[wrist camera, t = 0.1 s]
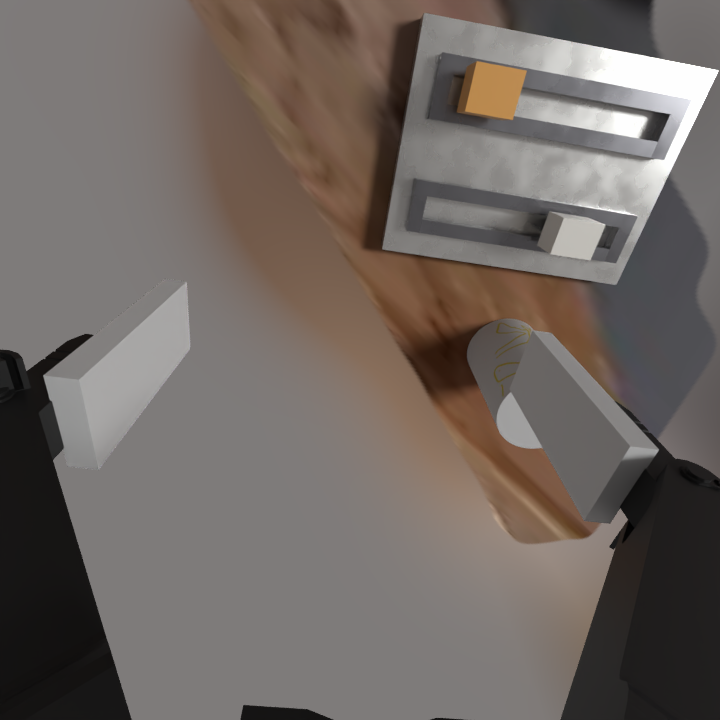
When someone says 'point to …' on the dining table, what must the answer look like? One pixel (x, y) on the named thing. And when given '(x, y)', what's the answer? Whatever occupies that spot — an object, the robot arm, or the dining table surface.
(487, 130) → the console
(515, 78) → the block
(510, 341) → the cup
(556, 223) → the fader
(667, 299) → the dining table surface
